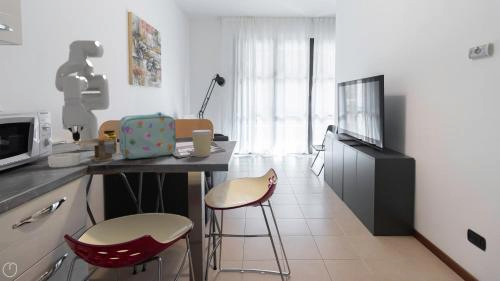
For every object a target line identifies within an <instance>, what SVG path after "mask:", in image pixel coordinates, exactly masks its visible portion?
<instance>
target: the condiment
mask: <svg viewBox="0 0 500 281" xmlns="http://www.w3.org/2000/svg"><path fill="white" fill-rule="evenodd" d="M115 132H116V131H115V130H114V129H110V130H109V129H107V130H103V135H104V134H107V135H108V136H109V138H111V139H114V153H112V155H114V154H119V153H120V154H121V152H120V151H119V152H118V147H117V145H118V144H117V136H116V133H115Z"/></svg>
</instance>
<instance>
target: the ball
mask: <svg viewBox="0 0 500 281" xmlns="http://www.w3.org/2000/svg"><path fill="white" fill-rule="evenodd" d="M100 137H101V138H100V139H102V140H109V136H108V135H107V134H104V133H103V134H102V135H101V136H100Z"/></svg>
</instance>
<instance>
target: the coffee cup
mask: <svg viewBox="0 0 500 281" xmlns="http://www.w3.org/2000/svg"><path fill="white" fill-rule="evenodd" d="M191 134H192V135H191V136H192V146H193V153H194V156H195V157H197V158H199V157H200V158H201V157H202V158H203V157H210V156H211V148H212V131H211V129H198V130H197V129H196V130H192V132H191Z"/></svg>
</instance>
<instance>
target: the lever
mask: <svg viewBox="0 0 500 281" xmlns="http://www.w3.org/2000/svg"><path fill="white" fill-rule="evenodd" d="M98 140H102V139H101V138H99V139H97V140H87V141H81V140H79V141H74V140H73V141H71V142H70V143H71V144H73V145H76V146H79V147H81V146H82V147H86V146H96V145H99V144H98ZM104 144H105V154H109V153H114V139H111V138H109V140H104ZM114 154H115V153H114Z"/></svg>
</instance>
